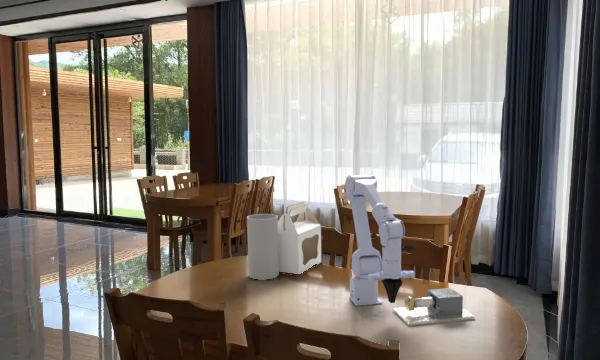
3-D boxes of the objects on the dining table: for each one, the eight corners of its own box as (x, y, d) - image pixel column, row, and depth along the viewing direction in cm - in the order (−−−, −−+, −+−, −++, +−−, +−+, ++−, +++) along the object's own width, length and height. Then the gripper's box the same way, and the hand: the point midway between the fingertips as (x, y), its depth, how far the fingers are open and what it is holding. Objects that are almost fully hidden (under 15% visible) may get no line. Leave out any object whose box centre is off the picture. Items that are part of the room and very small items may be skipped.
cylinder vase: (278, 280, 187) (276, 219, 185) (246, 281, 188) (245, 219, 185) (279, 271, 200) (278, 213, 197) (250, 272, 200) (248, 214, 197)
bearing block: (408, 325, 142) (408, 303, 141) (393, 311, 154) (393, 290, 153) (474, 319, 146) (475, 297, 145) (454, 305, 158) (455, 285, 157)
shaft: (410, 313, 146) (410, 299, 145) (404, 308, 150) (404, 294, 150) (453, 309, 149) (453, 295, 148) (446, 304, 153) (447, 291, 153)
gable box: (298, 275, 194) (297, 208, 191) (271, 271, 200) (269, 206, 197) (321, 262, 213) (320, 201, 210) (296, 259, 219) (295, 199, 216)
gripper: (373, 264, 140) (374, 308, 141) (419, 260, 143) (418, 304, 144) (366, 258, 147) (366, 300, 148) (409, 255, 150) (409, 296, 151)
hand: (391, 301), depth 147 cm, fingers closed
